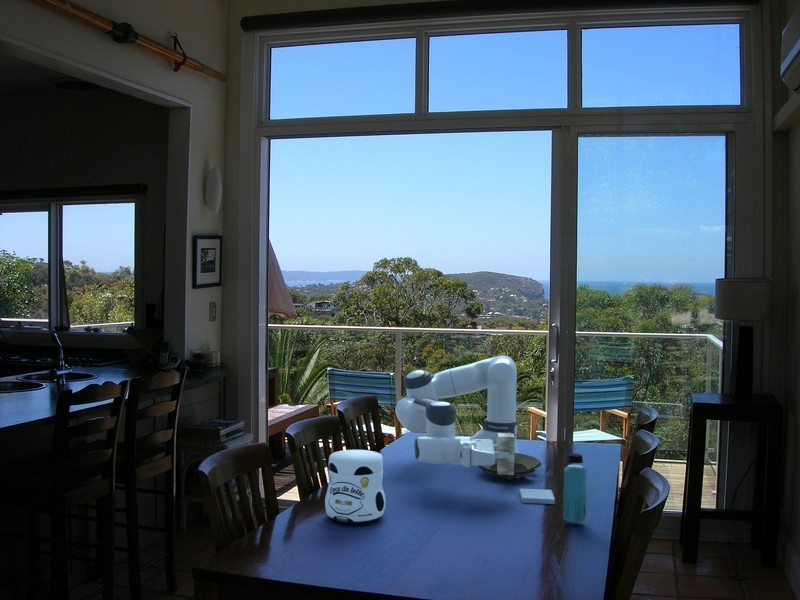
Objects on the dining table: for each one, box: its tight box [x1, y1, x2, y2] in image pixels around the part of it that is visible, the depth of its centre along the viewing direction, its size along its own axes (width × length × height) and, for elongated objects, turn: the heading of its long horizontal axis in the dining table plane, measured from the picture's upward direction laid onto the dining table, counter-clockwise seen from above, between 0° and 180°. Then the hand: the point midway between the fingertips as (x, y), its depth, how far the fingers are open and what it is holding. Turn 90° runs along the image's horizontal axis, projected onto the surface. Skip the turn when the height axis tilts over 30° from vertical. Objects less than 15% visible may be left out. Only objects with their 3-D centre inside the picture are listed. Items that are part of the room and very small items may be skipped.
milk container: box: [324, 449, 387, 525], centre depth 206 cm, size 17×17×18 cm
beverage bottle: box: [562, 452, 588, 524], centre depth 204 cm, size 6×7×20 cm
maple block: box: [497, 433, 515, 475], centre depth 229 cm, size 5×5×12 cm
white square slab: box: [519, 488, 556, 505], centre depth 228 cm, size 10×10×2 cm
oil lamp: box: [477, 452, 542, 481], centre depth 253 cm, size 22×30×8 cm
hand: (508, 452), depth 228 cm, fingers closed on maple block, 5 cm apart
